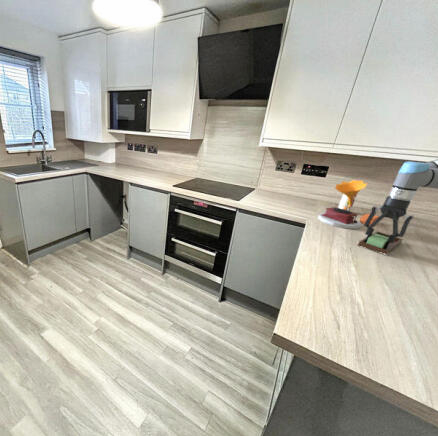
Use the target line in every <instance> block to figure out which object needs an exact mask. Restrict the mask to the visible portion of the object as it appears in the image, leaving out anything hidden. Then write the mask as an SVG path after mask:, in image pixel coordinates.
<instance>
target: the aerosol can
mask: <svg viewBox="0 0 438 436" xmlns="http://www.w3.org/2000/svg"><path fill="white" fill-rule="evenodd" d="M357 196H358V193H356V194H355V195H354V197H353V203H352V205H351V207H350V208H349V210H348V211H350V212H351V211H352V208H353V205H354V203H355V201H356V198H357ZM348 205H349V200H348V197H347V196H346V195H344V194H342V196H341V199H340V201H339V203H338V206H337V208H340V209H344V207H346V208H347V207H348ZM346 210H347V209H346Z"/></svg>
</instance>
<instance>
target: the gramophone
mask: <svg viewBox="0 0 438 436" xmlns="http://www.w3.org/2000/svg"><path fill="white" fill-rule="evenodd" d="M367 185H368V183H367V182H366V183H365V182H364V181H363V180H355V179H351V180H350V181H348V182H347V181H345V180H343V181H342V182H341V183H336V184H335V187H334V190H337V192H339V193H341V194H342V195H343V194H344V195H346V196H347V197H348V200H349V205H348V207H347V208H346V207H344V209H340V208H338V206H337V207H336V206H334V207H333V206H332V207H326V208H325V212H321V213H319V214H318V215H317V219H318V220H319V221H321V222H322V223H325V224H327V225H329V226H332V227H336V228H342V229H346V228H347V229H346V230H358V229H361V227H362V224H363V223H361V222H359V221H360V220H357V217H358V216H359V215H360V214H358V213H355V212H352V211H351V210H350V211H348V210H349V208H350V207H351V205H352V203H353V197H354V195H355V194H356V193H357V194H359V192H360V191H361V190H363V189H366V186H367ZM353 204H354V203H353ZM346 209H347V210H346Z"/></svg>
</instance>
